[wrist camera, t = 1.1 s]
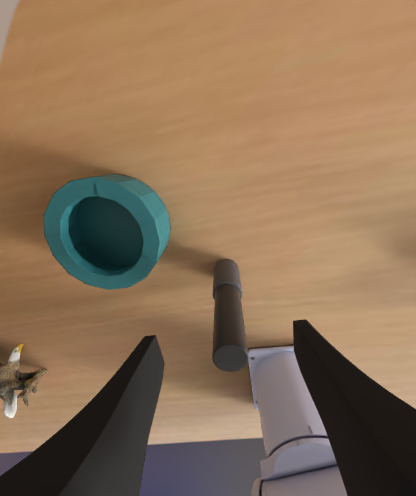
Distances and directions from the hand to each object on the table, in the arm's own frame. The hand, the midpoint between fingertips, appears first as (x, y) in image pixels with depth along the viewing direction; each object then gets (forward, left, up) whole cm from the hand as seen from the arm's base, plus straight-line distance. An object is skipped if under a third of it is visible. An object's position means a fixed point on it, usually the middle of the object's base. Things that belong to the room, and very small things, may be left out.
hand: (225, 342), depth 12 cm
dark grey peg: (-1, 0, -11) cm, 11 cm away
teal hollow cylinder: (+5, +9, -11) cm, 15 cm away
